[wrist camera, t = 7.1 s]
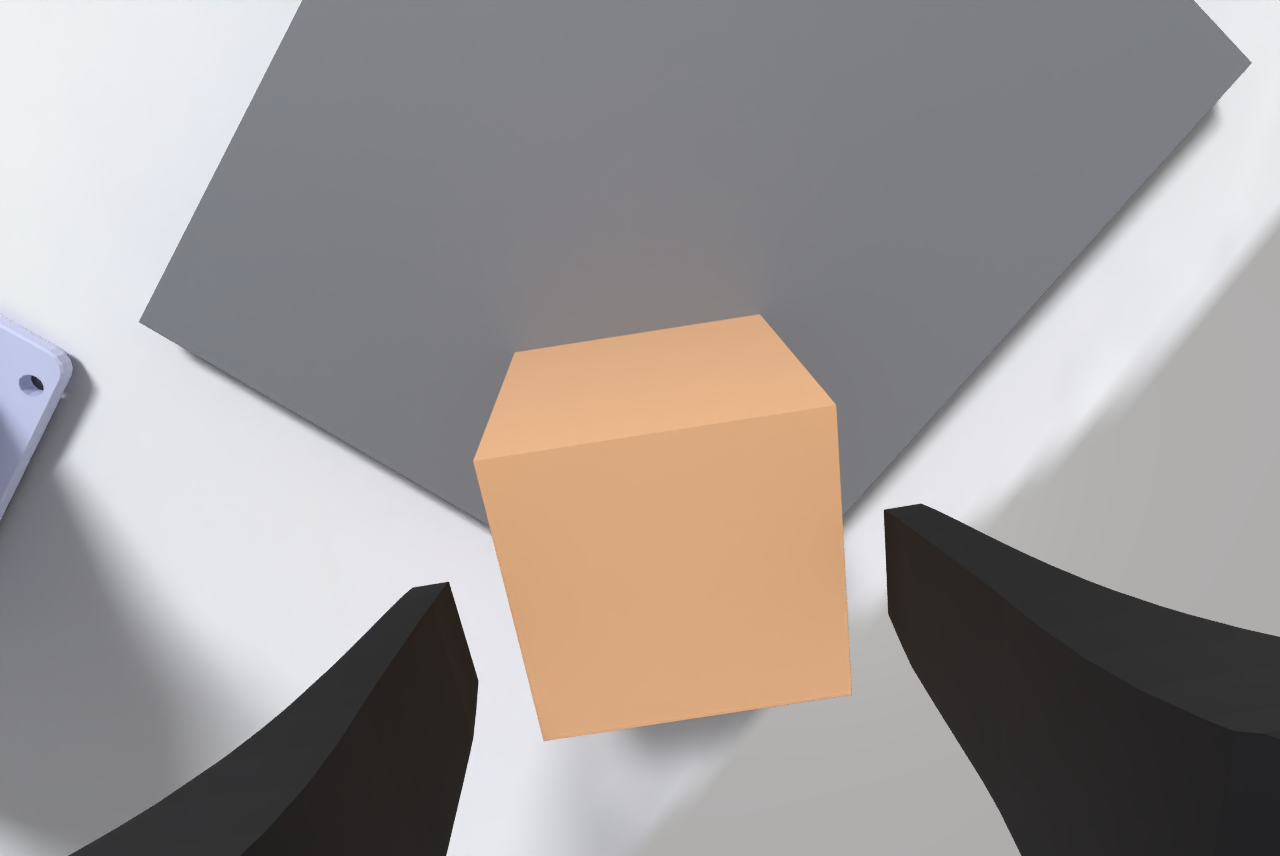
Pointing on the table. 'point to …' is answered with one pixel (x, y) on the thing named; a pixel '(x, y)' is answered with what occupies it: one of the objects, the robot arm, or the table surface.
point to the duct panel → (666, 196)
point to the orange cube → (668, 526)
